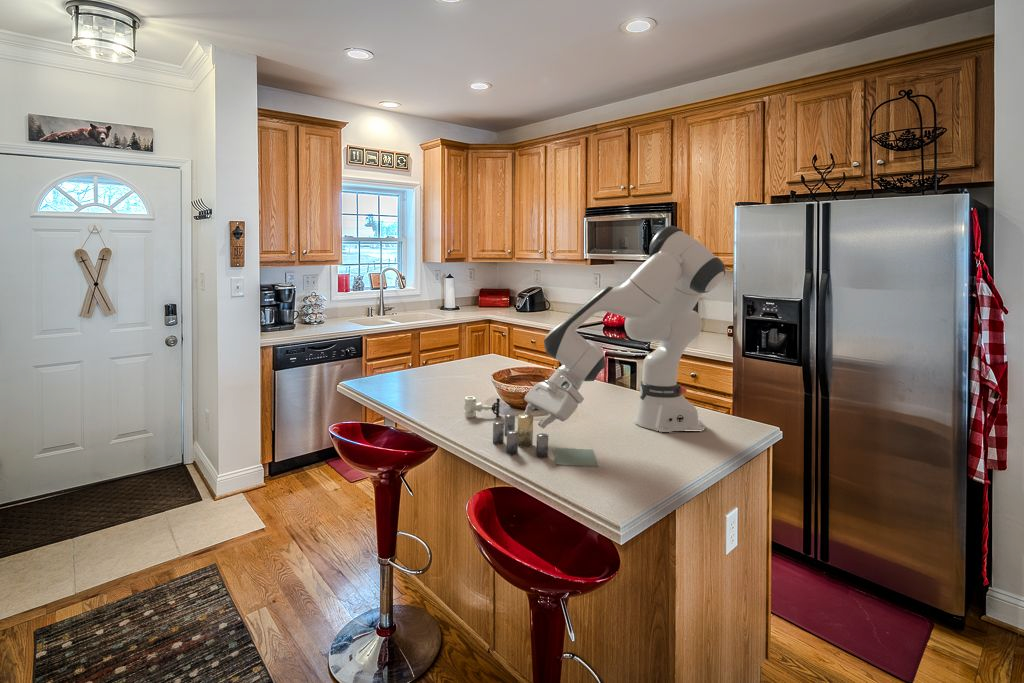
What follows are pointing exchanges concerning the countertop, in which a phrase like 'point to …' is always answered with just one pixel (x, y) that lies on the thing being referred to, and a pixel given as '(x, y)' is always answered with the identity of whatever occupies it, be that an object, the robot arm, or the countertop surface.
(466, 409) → the valve
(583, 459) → the mat
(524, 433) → the gold metal cylinder
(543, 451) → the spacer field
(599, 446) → the countertop surface
